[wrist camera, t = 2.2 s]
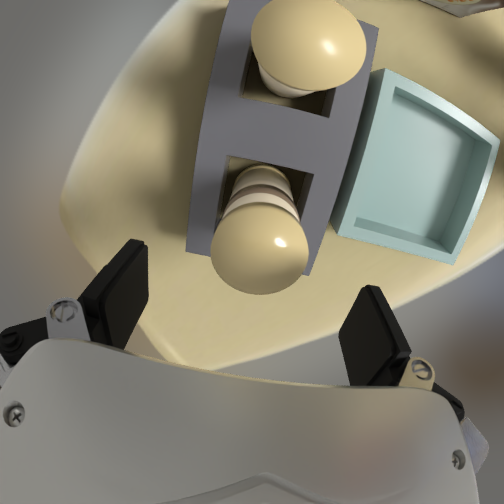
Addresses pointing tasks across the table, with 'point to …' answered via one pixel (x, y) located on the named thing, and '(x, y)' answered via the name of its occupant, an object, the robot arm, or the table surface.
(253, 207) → the cylinder
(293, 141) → the block
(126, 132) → the table surface
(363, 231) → the parts tray
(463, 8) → the coffee box
